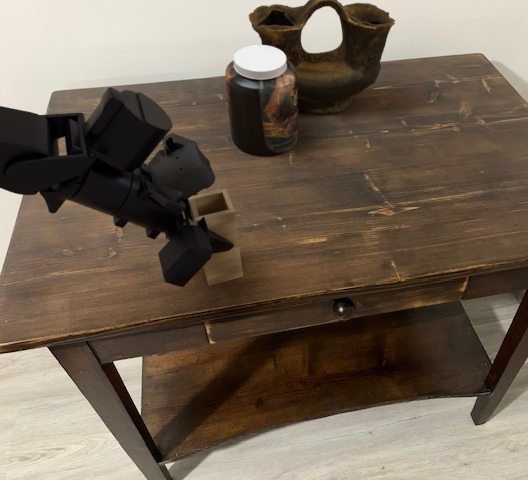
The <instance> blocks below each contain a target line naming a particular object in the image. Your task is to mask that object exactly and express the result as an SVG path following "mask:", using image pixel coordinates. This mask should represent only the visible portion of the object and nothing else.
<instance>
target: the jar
mask: <svg viewBox="0 0 528 480" xmlns="http://www.w3.org/2000/svg"><path fill="white" fill-rule="evenodd" d="M224 73H225V74H224V80H225V92H226V93H225V94H226V102H227V110H228V119H229V127H230V134H231V140H232V142H233V143H234V145H235V146H236V147H237V148H238V149H239V150H241V151H242V152H245V153H247V154H249V155H253V156H258V157H273V156H278V155H282V154H285V153H286V152H288V151H289V150H291V149H292V148H294V146H296V144H297V141H298V137H299V109H298V89H297V74H296V70H295V68H294V66H293V65H292V64H291V63H290V62H289V61H288V60H286V55H285V54H284V52H282V51H281V50H279V49H278V48H275V47H272V46H267V45H262V44H253V45H247V46H244V47H242V48H240V49H238V50H236V52H235V53H234V55H233V60H231V61H230V62H229V63H228V64H227V66H226V68H225V72H224Z"/></svg>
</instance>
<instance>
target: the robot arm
mask: <svg viewBox="0 0 528 480" xmlns="http://www.w3.org/2000/svg"><path fill="white" fill-rule="evenodd" d="M172 129H173V121H172V119H171V118H170V115H169V114H168V113H167V112H166V111H165V110H164V108H162V107H161V106H160V105H159V104H158V103H157V102H156V101H155V100H153V99H152V98H150V97H149V96H148V95H146V94H145V93H142V92H140V91H137V92H136V91H134V90H129V89H123V90H121V91H119V90H118V89H115V88H114V87H112V86H109V87H107V89H106V90H105V92H104V93H103V94H102V96H101V98H100V101H99V103H98V105H97V106H96V108H95V109H94V110H93V112H92V113H91V114H90V116H89V117H88V119H86V115H85V113H83V112H69V113H68V112H67V113H64V112H63V113H49V114H39V113H37V112H36V113H35V112H32V111H27V110H23V109H18V108H12V107H8V106H2V105H0V189H1V190H4V191H7V192H10V193H12V194H15V195H21V196H22V195H23V196H35V195H37V194H38V193H39V195H40V196H41V197H42V198H43V199H44V202H45V204H46V207H47V210H48V213H50V214H56V213H57V212H58V211H59V210H60V208H62V206H63V205H64V203H65V202H66V201H69V202H72V203H75V204H77V205H81V206H83V207H86V208H89V209H90V210H94V211H96V212H100V213H102V214H104V215H108V216H110V217H112V218H113V219H112V221H113V226H115V227H117V228H121V229H124V228H125V227H126V225H127V224H128V223H130V224H133V225H134V226H137V227H141V228H143V229H144V230H145V234H146V238H149V239H152V240H156V239H157V238H158V236H159V235H160V234H161V233H163V234H164V236H165V240H166V241H168V242H166V244H164V246H163V247H162V248H161V249H160V250H159V251H158V252H157V255H158V260H159V263H160V268H161V273H162V275H163V280H164V283H166V284H169V285H172V286H176V287H180V288H184V287H186V285H187V284H188V283H189V282H190V281H191V280H192V279H193V277H195V276H196V275H197V273H199V271H200V270H201V269H203V266H204V265H205V264H206V263H207V262H208V261H209V260H210V259H211V256H212V254H214V253H220V252H226V251H230V250H231V249H232V248H233V247H234V244H233V243H232V242H230V241H229V240H227V239H226V238H224V237H222V236H220V235H218V234H216V233H214V232H213V231H211V230H209V229H208V226H207V223H206V220H205V217H202V218H201V220H200V221H199V222H198V223H195V222H193V220H192V215H191V211H190V206H189V201H188V198H190V197H191V196H194V195H199V194H198V193H200V192H201V191H203V190H207V189H209V188H210V187H212V186H213V185H214V184H215V181H216V175H215V173H214V171H213V169H212V166H211V162H210V160H209V159H208V158H207V157H206V155H205V154H204V153H203V152H202V151H201V150H200V148H199V146H198V143H197V141H196V140H191V139H190V138H189V137H188V138H186V137H184V136H182V135H179V134H176V133H175V132H171V133H169V132H170V131H171V130H172ZM62 138H64V142H65V143H64V144H65V153H66V154H64V155H60V147H59V146H60V145H59V140H60V139H62ZM161 142H162V146H163V148H162V149H159V150H158V151H157V152H156V153H155V154H154V156H153V157H152V158H151V159H150V160H149V162H148V163H145V162H146V160H147V159H148V158H150V156H151V155H152V154H153V152H154V151H155V150H156V148H157V147H158V146H159V145H160V144H161Z"/></svg>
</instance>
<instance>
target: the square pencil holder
mask: <svg viewBox="0 0 528 480" xmlns="http://www.w3.org/2000/svg"><path fill="white" fill-rule="evenodd" d="M188 201H189V206H190V211H191V215H192V220H193V222H195V223H198V222H199V221H200V220H201V218H202V217H205V220H206V223H207V226H208V229H209V230H211V231H213V232H214V233H216V234H218V235H220V236H222V237H224V238H226V239H227V240H229V241H230V242H232V243H233V244H234V247H233V248H232V249H231V250H230V251H226V252H220V253H214V254H212V256H211V259H210V260H209V261H208V262H207V263H206V264H205V265H204V266H203V267H202V269H203V272H204V275H205V279H206V282H207V285H208V286H209V287H210V286H214V285H218V284H221V283H225V282H229V281H232V280H235V279H239V278H243V277H244V273H243V272H244V271H243V263H242V256H241V248H240V241H239V233H238V225H237V217H236V211H235V208H234V206H233V203H232V200H231V198H230V195H229V193H228V190H227V188H226V187H225V188H221V189H216V190H212V191H208V192H203V193H199V194H198V195H194V196H191V197H190V198H188Z"/></svg>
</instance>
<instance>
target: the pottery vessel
mask: <svg viewBox="0 0 528 480" xmlns="http://www.w3.org/2000/svg"><path fill="white" fill-rule="evenodd" d="M325 7H330V8H332V9H333V10H334V11H335V12H336V14H337V16H338V17H339V22H340V27H341V36H342V37H341V38H342V39H341V43H340V44H339V45H338V46H337V47H336V48H334V49H331V50H328V51H322V52H308V51H307V50H305V48H304V47H303V44H302V33H303V29H304V28H305V26H306V25H307V23H308V21H309V20H310V18H311V17H312V16H313V15H314V13H315V12H316V11H318V10H320V9H322V8H325ZM248 20H249V22H250V24H251V27H252V29H253V30H254V32H256V33H257V34H258V37H259V38H260V41H261V45H267V46H272V47H275V48H278V49H279V50H281V51H282V52H284V54H285V55H286V60H288V61H289V62H290V63H291V64H292V65H293V66H294V68H295V70H296V74H297V89H298V110H300V111H303V112H305V113H309V114H314V115H331V114H333V115H334V114H337V113H341V112H342V111H344V110H347V109H349V108H350V107H351V106H352V104H353V98H352V97H353V96H356V95H358V94H359V93H361V92H363V91H364V90H366V89H367V88H369V87H370V86H372V85H374V84H375V83H376V81H377V79H378V77H379V75H380V71H381V69H382V65H381V60H382V56H383V53H384V50H385V47H386V44H387V41H388V40H387V39H388V37H389V34H390V31H391V28H392V27H393V26H394V25H395V24H396V20H395V19H394V18H392V17H390V12H389V11H385V10H384V9H383V8H380V7H378V6H377V5H375V4H372V3H369V2H368V3H367V2H354V3H353V2H352V3H349V4H345V5H343V4H342V2H339V0H308V1H306V3H304V4H303V5H299V6H293V7H292V6H289V5H284V4H278V3H276V4H275V3H273V4H271V5H260V6H257V7H256V8H255V9H253V12H250V13H249V14H248Z"/></svg>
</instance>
